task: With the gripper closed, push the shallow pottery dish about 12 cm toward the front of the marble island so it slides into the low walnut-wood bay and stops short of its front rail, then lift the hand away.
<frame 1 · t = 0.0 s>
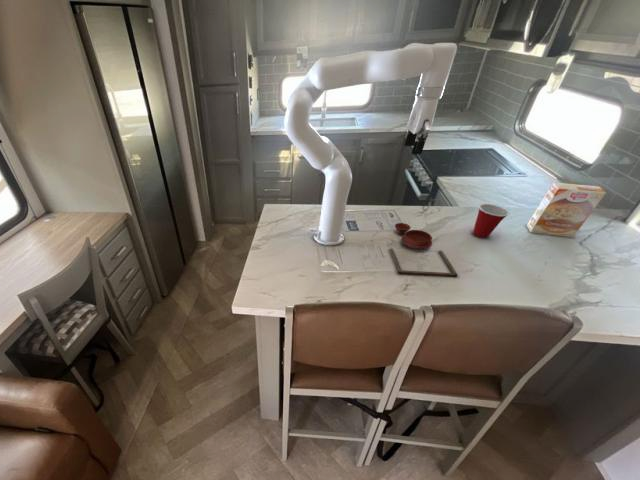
hand: (412, 149, 112), 37 cm above the counter, tool pointing down, fingers open, 9 cm apart
coffeecake box: (548, 231, 136), on the counter
bay: (420, 262, 123), on the counter
plastic cup: (480, 235, 136), on the counter
pottery: (409, 240, 135), on the counter
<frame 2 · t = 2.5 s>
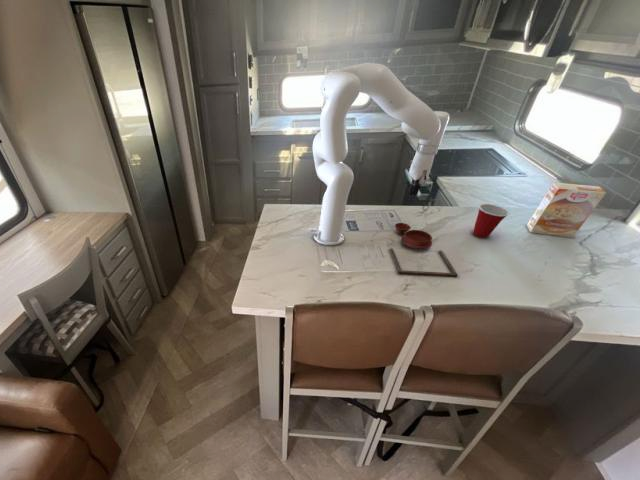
hand: (412, 193, 135), 15 cm above the counter, tool pointing down, fingers closed
nothing on the counter moved.
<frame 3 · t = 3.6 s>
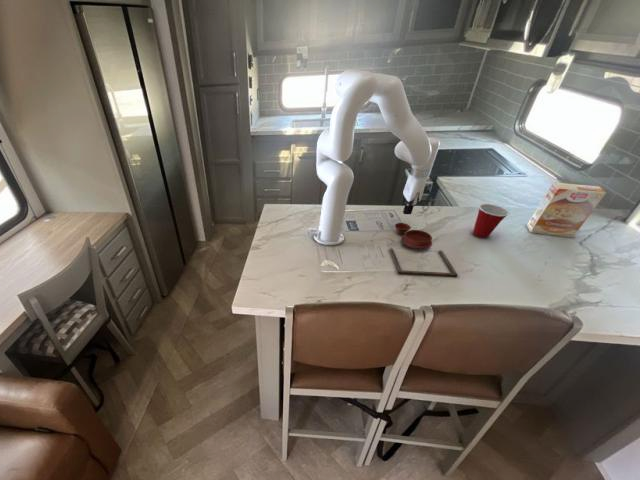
hand: (406, 213, 141), 6 cm above the counter, tool pointing down, fingers closed
nothing on the counter moved.
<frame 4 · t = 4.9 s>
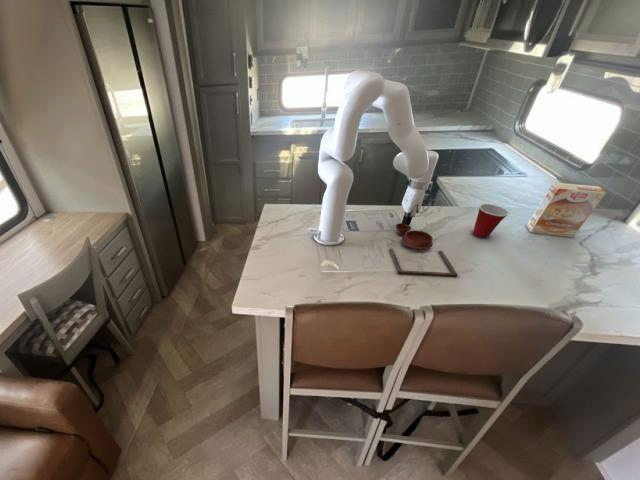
hand: (405, 224, 142), 2 cm above the counter, tool pointing down, fingers closed
pottery: (409, 241, 135), on the counter, touching gripper
everything else where it was.
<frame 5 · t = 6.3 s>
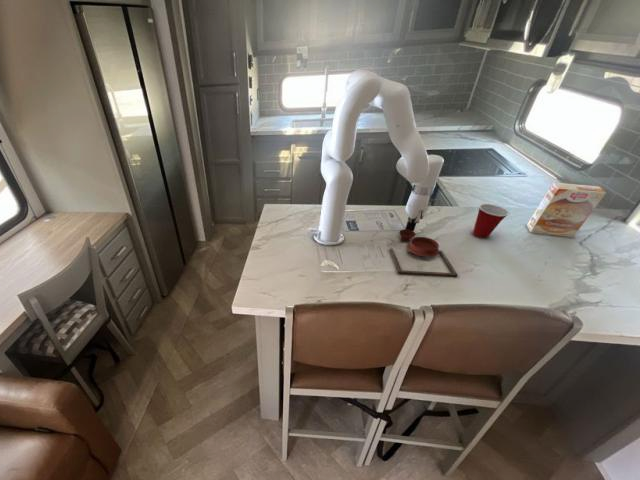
hand: (409, 230, 137), 2 cm above the counter, tool pointing down, fingers closed
pottery: (414, 247, 131), on the counter, touching gripper
everything else where it was.
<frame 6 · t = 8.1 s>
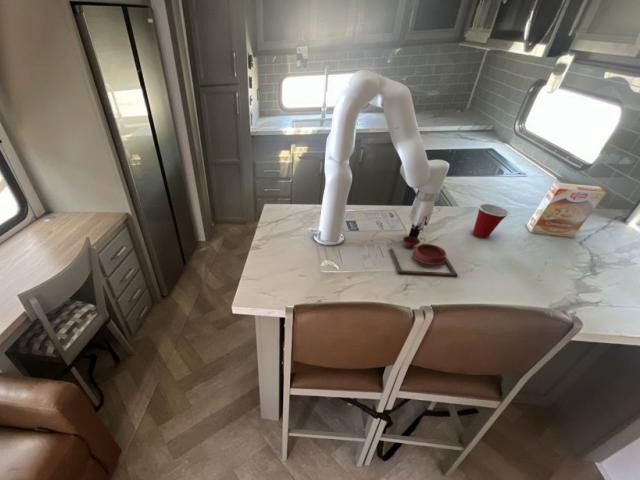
hand: (412, 236, 133), 2 cm above the counter, tool pointing down, fingers closed
pottery: (419, 255, 127), on the counter, touching gripper
everything else where it was.
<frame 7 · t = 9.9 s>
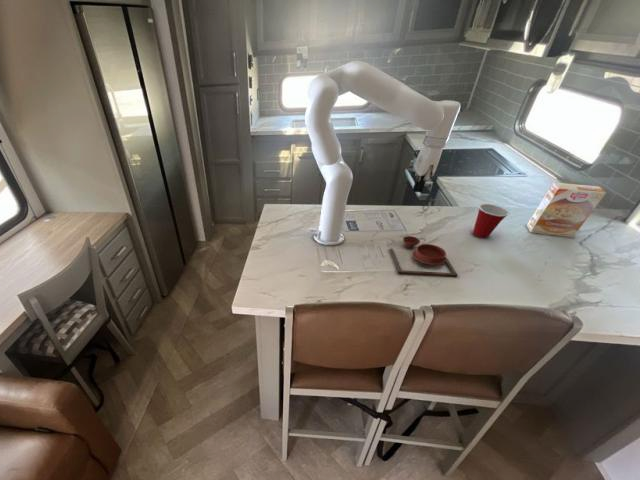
hand: (416, 191, 125), 20 cm above the counter, tool pointing down, fingers closed
pottery: (420, 255, 127), on the counter
everything else where it was.
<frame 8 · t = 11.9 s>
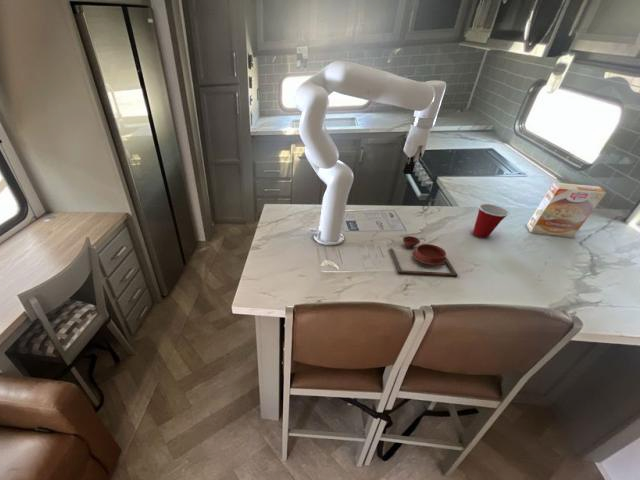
hand: (407, 173, 126), 25 cm above the counter, tool pointing down, fingers closed
nothing on the counter moved.
at the end: pottery inside the target area (1.5 cm from its centre), on the counter; pottery moved 11.7 cm from its start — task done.
